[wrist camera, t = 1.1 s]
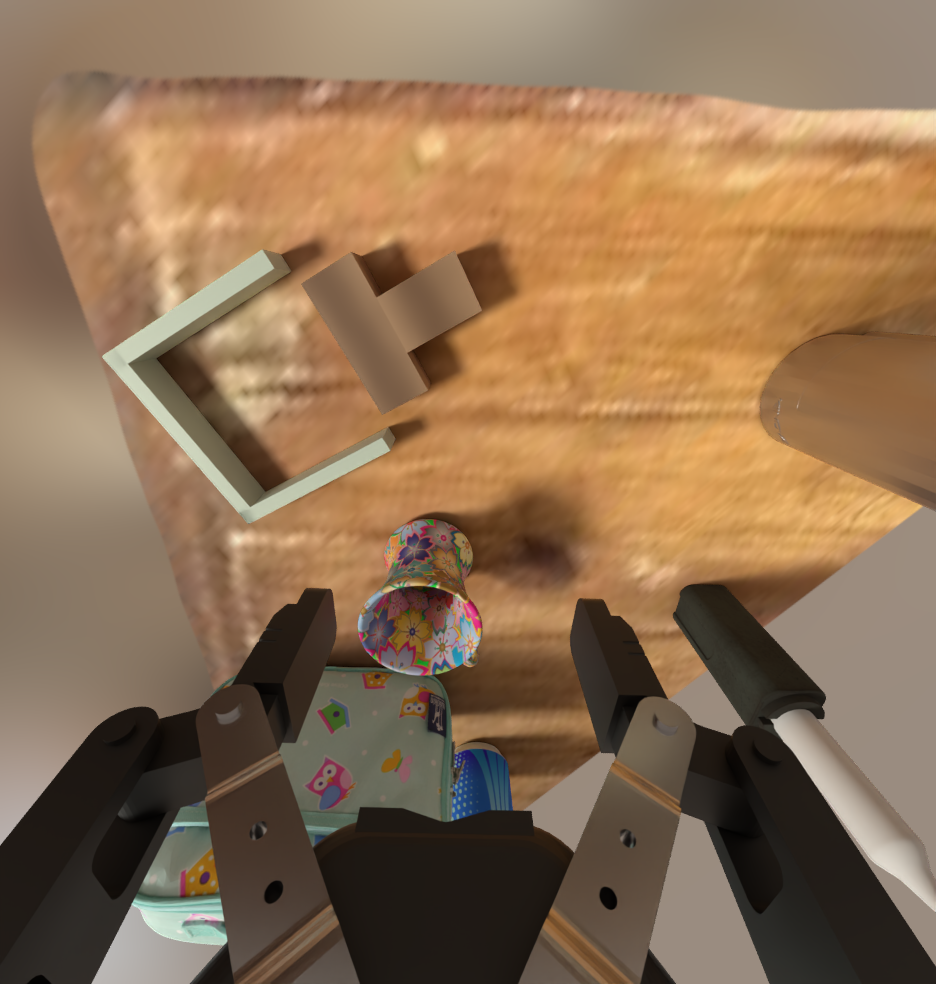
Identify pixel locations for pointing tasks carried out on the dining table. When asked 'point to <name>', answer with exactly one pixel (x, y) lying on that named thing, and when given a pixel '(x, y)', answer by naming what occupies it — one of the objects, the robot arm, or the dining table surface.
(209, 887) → the lunch box
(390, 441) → the bay
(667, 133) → the dining table surface
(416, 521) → the mug
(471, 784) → the beer can
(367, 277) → the t block
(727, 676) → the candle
